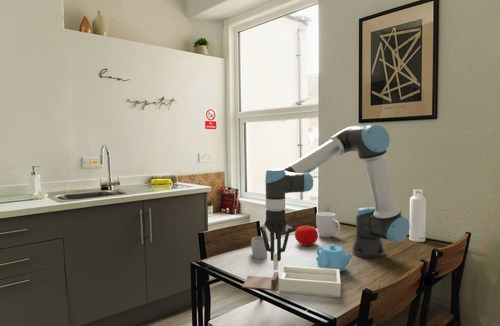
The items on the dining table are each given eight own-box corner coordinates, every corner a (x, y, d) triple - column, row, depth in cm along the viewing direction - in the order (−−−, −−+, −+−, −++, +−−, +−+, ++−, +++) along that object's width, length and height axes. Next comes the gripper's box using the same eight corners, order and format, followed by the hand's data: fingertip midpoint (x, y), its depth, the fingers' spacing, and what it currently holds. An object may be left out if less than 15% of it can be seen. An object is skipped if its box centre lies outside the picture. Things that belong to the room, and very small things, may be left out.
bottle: (425, 238, 196) (427, 189, 194) (424, 242, 189) (425, 191, 187) (410, 236, 200) (411, 188, 198) (408, 240, 194) (409, 190, 192)
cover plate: (281, 280, 142) (281, 271, 142) (278, 291, 131) (278, 281, 131) (248, 278, 145) (248, 268, 145) (242, 288, 134) (241, 278, 134)
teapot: (354, 276, 143) (354, 249, 143) (321, 277, 143) (321, 250, 142) (343, 263, 159) (343, 239, 158) (313, 264, 158) (313, 240, 157)
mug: (344, 237, 202) (345, 214, 201) (334, 241, 194) (334, 217, 193) (323, 232, 212) (323, 211, 211) (312, 236, 205) (312, 214, 204)
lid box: (339, 282, 138) (339, 269, 138) (340, 297, 125) (340, 283, 124) (284, 277, 143) (284, 265, 143) (279, 292, 130) (279, 278, 129)
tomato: (321, 244, 187) (321, 225, 187) (305, 249, 180) (305, 229, 180) (307, 240, 197) (307, 221, 196) (290, 243, 190) (290, 224, 189)
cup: (258, 260, 165) (258, 241, 164) (245, 254, 173) (245, 237, 172) (270, 256, 169) (270, 238, 169) (257, 251, 177) (257, 234, 177)
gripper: (293, 207, 137) (293, 266, 139) (260, 206, 140) (261, 264, 141) (291, 211, 130) (291, 273, 131) (257, 210, 133) (257, 271, 134)
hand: (275, 268), depth 136 cm, fingers closed
